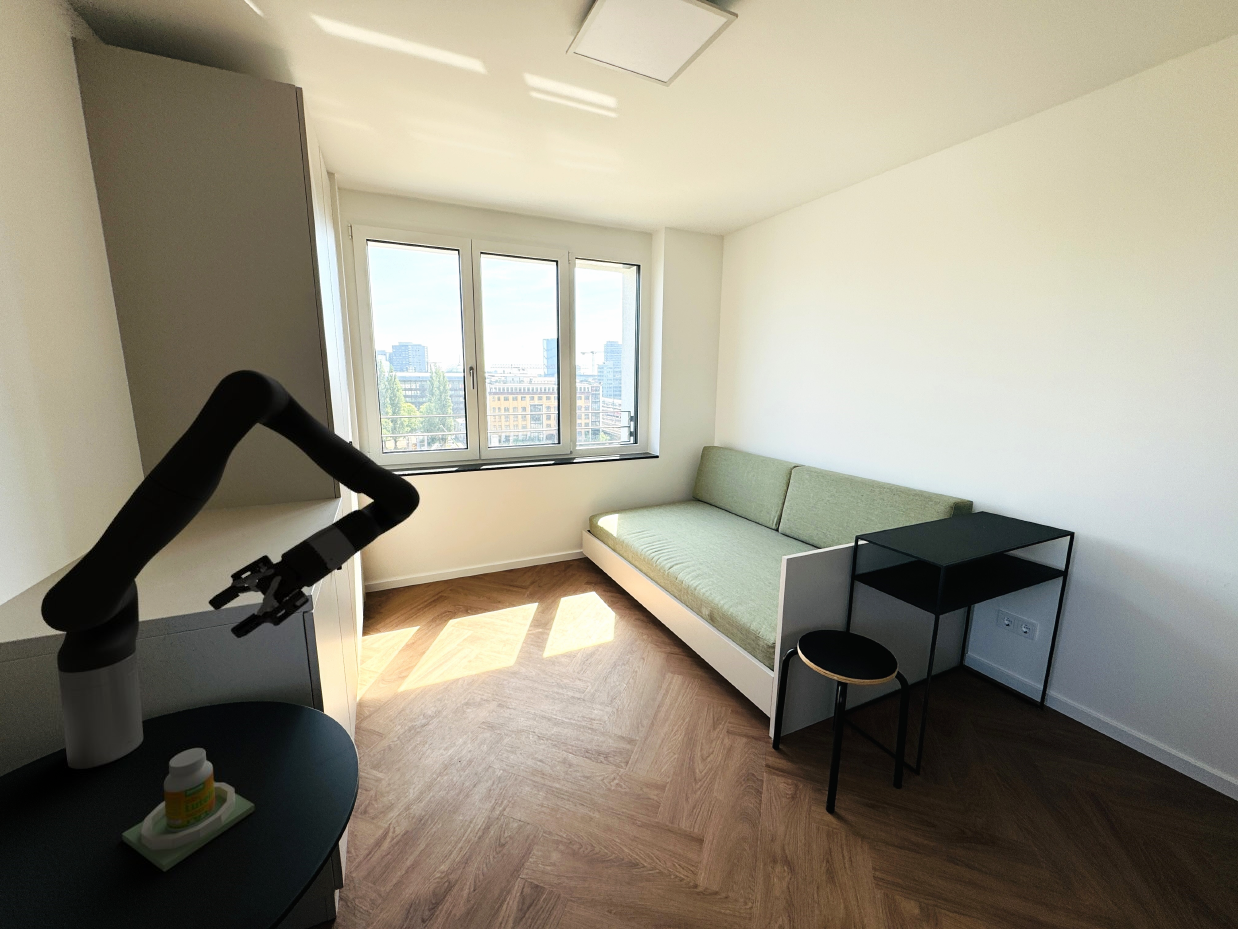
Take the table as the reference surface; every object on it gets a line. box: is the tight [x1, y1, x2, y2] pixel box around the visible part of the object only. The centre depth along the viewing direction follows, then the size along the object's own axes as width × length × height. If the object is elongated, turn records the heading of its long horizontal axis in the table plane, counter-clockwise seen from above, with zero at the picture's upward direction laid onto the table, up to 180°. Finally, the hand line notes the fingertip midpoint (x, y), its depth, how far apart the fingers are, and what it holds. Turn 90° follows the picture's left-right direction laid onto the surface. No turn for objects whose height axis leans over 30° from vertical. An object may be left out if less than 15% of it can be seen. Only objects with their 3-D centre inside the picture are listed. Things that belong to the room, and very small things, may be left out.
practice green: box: [121, 780, 255, 873], centre depth 71 cm, size 11×11×2 cm
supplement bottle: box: [163, 747, 215, 832], centre depth 71 cm, size 5×5×10 cm
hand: (222, 620), depth 77 cm, fingers open, 8 cm apart
